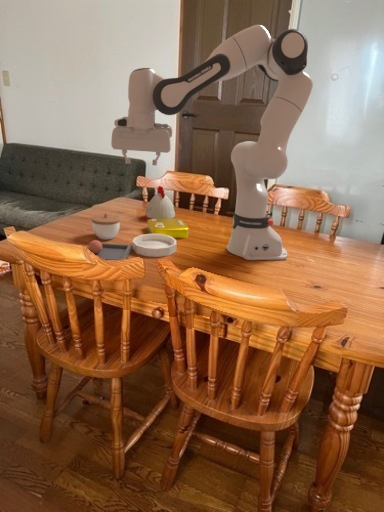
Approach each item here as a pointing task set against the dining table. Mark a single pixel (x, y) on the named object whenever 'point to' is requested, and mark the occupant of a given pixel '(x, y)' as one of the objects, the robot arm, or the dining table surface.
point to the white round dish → (154, 245)
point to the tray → (114, 251)
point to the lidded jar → (105, 225)
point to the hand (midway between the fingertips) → (141, 164)
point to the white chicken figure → (160, 207)
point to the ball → (95, 246)
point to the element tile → (168, 227)
